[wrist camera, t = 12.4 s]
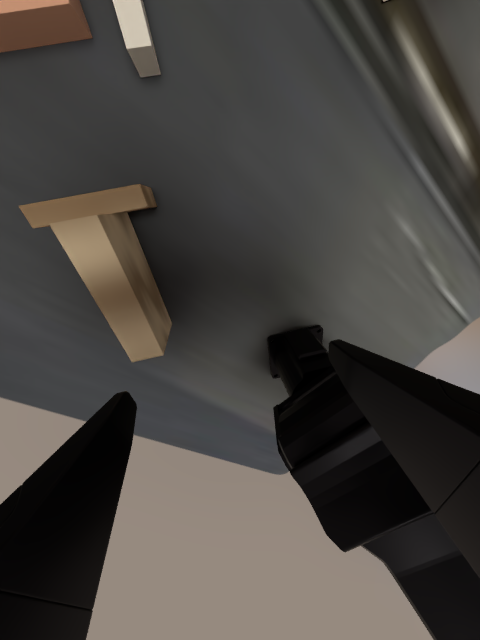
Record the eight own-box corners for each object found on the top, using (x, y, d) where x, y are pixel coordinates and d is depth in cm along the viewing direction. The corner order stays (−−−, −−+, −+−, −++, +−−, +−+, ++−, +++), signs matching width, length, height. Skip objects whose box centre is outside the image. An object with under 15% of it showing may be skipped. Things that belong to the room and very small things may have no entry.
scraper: (194, 318, 20) (191, 348, 16) (124, 333, 20) (103, 368, 16) (151, 187, 14) (128, 180, 10) (52, 206, 14) (-14, 206, 10)
